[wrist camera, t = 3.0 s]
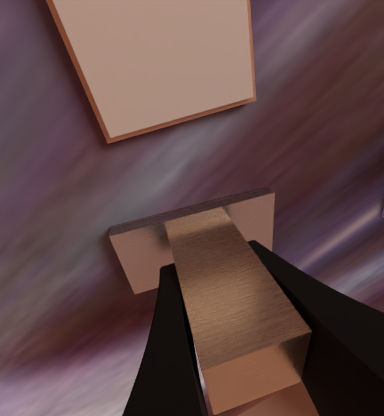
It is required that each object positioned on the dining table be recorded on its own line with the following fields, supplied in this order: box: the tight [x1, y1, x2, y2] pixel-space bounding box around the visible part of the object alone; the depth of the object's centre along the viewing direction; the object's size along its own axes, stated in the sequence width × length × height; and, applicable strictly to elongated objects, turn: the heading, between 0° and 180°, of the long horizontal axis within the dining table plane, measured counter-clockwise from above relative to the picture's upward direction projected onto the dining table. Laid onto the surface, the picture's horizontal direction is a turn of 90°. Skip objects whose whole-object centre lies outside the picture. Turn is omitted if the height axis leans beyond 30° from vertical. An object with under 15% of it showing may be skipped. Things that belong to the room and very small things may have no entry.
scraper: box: [109, 186, 312, 415], centre depth 9 cm, size 4×8×7 cm, turn 99°
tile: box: [46, 0, 256, 143], centre depth 7 cm, size 6×6×1 cm
